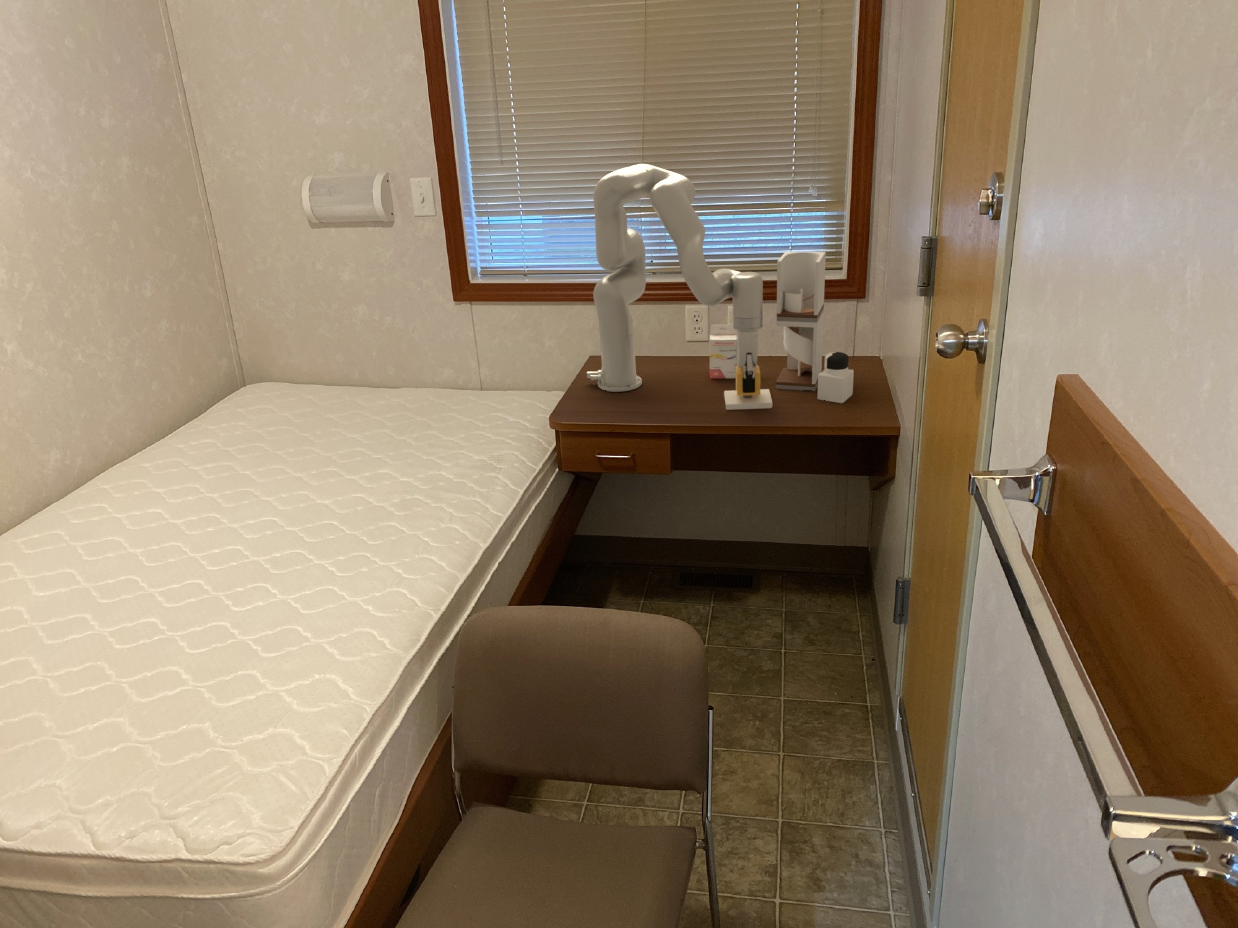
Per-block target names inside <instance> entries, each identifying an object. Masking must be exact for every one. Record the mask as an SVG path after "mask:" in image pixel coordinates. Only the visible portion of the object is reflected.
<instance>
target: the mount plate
mask: <svg viewBox="0 0 1238 928" xmlns="http://www.w3.org/2000/svg"><path fill="white" fill-rule="evenodd" d="M723 391H724V392H723V396H724V397H723V398H724V404H725V410H726V411H728V410H729V411H730V410H731V411H733V410H734V411H735V410H755V409H756V410H757V409H772V408H773V400H772V395H771V392H770V389H769V388H766V389H765V388H762V389H761V388H760V395H740V396H737V391H736V389H735V390H723Z"/></svg>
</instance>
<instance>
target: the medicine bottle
mask: <svg viewBox="0 0 1238 928" xmlns="http://www.w3.org/2000/svg"><path fill="white" fill-rule="evenodd" d="M823 366H824V369H823V370H822V372H821V373H820V374H819V375H818V386H817V398H816V399H817V400H820V401H824V400H825V401H824V402H830V403H838V404H844V403H845V402H846V401H847V400H848V399H850V398H851V397H852V395H853V392H854V391H853V390H854V373H855V372H854V369H851V368H849V355H848V354H846V353H844V352H842V351H832V352H831V351H830V352H829V353H826V354H825V356H824V365H823Z"/></svg>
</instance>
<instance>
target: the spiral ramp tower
mask: <svg viewBox="0 0 1238 928" xmlns="http://www.w3.org/2000/svg"><path fill="white" fill-rule="evenodd" d="M826 253H827V252H826V251H784V253H783V254H782V255H781V256H780V258H778V260H777V263H776V264H777V265H776V267H777V268H776V273H777V274H776V327H783V348H784V350H785V351H786V352H787V356H786V358H787V359H786V360H787V361H786V362H787V363H786V367H783V368H782V370H781V371H780V373H779V376H778V377H777V379H776V381H775V389H776V390H791V391H792V390H793V391H803V390H812V391H811V392H816V390H817V389H818V375H819V374H820V373H821V372H822V371H823V370H822V368H823V367H822V365H823V342H824V339H823V338H824V337H823V336H824V313H825V312H824V311H825V310H824V309H825V308H824V307H825V280H826V255H827V254H826Z"/></svg>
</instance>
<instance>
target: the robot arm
mask: <svg viewBox="0 0 1238 928" xmlns="http://www.w3.org/2000/svg"><path fill="white" fill-rule="evenodd" d="M592 196H593V208H594V209H593V210H594V220H595V222H594V225H595V226H594V228H595V229H594V231H595V250H596V251H595V253H596V260H597V262H598V264H599V266H600V267H601V268H602V269H603V270H606V271H614V272H612V273H610V274H608V275H605V276H604V277H602V278H601V279H599V280H598V281H597V283H596V284H595V287H594V289H593V294H592V295H593V301H594V305H595V310H596V314H597V322H598V331H599V342H600V355H601V356H600V358H601V369H598V370H596V371H590V370H589V371H586V378H587V379H590V381H597V386H598V388H599V389H600V390H602V391H605V390H606V391H605V392H613V393H619V392H620V393H621V392H628V391H633V390H635V389H638V388H639V387H641V385H642V384H643V379H642V378H641V377H640V376H639V375H637V370H636V369H637V367H636V353H635V352H636V351H635V333H634V323H633V322H634V320H633V317H632V314H631V311H630V308H629V305H630V304H631V303H634V302H635V301H637V300H639V299H640V298H641V297H642V296H643V294H644V292H645V289H646V284H647V269H646V268H647V267H646V265H647V264H646V247H645V242H644V239H643V238H642V236H641V234H640V232H638V231H637V230H635V229H633V228H630V227H628V216H627V212H626V209H625V207H624V206H625V204H628V203H631V202H634V201H639V200H641V199H642V198H646V199H649V202H650V204H651V206H652V209H653V210H654V211H655V213H656V215H657V216H658V218H659V220H660V222H661V223H662V225H663V227H664V228H665V230H666V231H667V233H668V234H669V237H670V238H671V239H672V242H673V243H674V244H675V247H676V252H677V259H678V263H679V267H680V268H679V269H680V271H681V274H682V275H681V276H682V277H683V279H684V281H685V283H686V285H687V287H688V288H689V289H690V292H692V295H693V296H694V297H695V298H696V300H697V301H698V302H699V303H701V304H702V305H704V306H707V307H715V306H717V305H719V304H720V303H722V302H724V301H725V300H727V299H730V298H732V324H733V329H735V330H737V335H736V360H737V365H738V367H739V368H741V367H743V375H744V378H742V379H743V393H754V392H755V377H754V367H756V366H757V365H758V353H759V352H758V349H759V348H758V347H759V346H758V345H759V330H761V329H763V328H764V327H763V323H764V322H763V317H764V314H763V310H764V309H763V306H764V304H763V301H764V300H763V299H764V297H763V295H764V292H763V288H764V287H763V286H764V283H763V282H764V281H763V276H762V275H761V273H758V272H756V271H755V272H754V271H738V270H734V269H730V268H718V269H716V270H714V271H711V269H710V267H709V265H708V263H707V261H706V258H705V255H704V241H705V236H706V227H705V226H704V223H703V222H702V221H701V219H700V217H699V216H698V214H697V211H695V209H694V207H693V205H692V203H694V201H695V198H696V189H695V185H694V183H693V182H692V181H691V179H689V178H688V177H686V176H685V175H683V174H680V173H677V172H674V171H671V170H668V169H664V168H661V167H658V166H655V165H652V164H646V163H638V164H634V165H631V166H626V167H622V168H619V169H617V170H615V171H612V172H610V173H608V174H606V175H604V176H603V177H602V178H601V179H600V180H599V181H598V182H597V183H596V186H595V188H594V191H593V195H592ZM745 366H747V367H745ZM746 369H747V371H746Z"/></svg>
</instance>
